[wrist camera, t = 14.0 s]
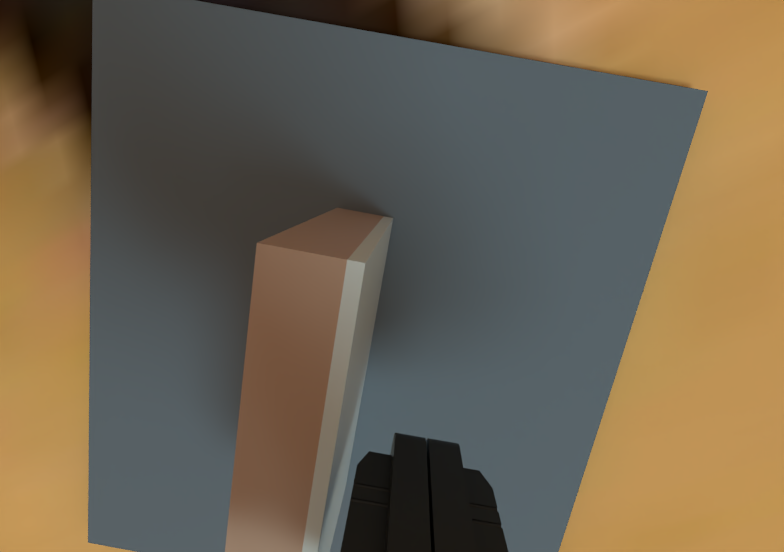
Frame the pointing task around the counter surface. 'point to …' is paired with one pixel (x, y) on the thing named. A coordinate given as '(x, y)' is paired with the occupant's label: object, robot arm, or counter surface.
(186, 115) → the mat
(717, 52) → the counter surface
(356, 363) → the tile
